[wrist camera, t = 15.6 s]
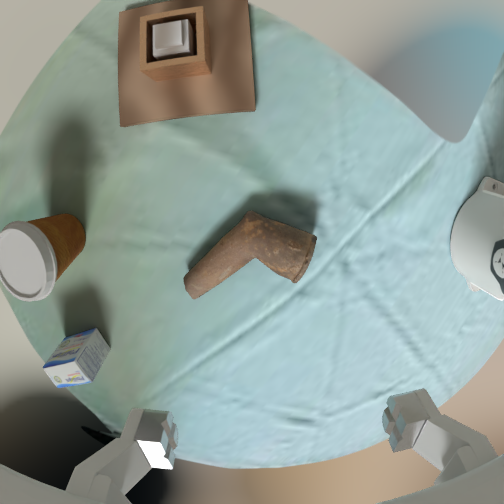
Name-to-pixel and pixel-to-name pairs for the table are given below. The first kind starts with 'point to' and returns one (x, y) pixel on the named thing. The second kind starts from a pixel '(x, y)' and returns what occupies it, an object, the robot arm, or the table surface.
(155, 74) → the tan hollow cube
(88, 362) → the medicine box
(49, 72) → the table surface
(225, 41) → the wavy brown square sheet
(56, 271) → the disposable coffee cup
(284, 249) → the pipe
